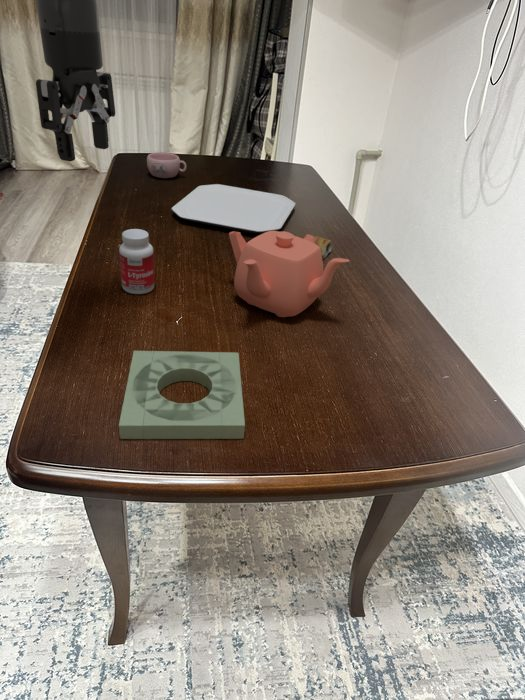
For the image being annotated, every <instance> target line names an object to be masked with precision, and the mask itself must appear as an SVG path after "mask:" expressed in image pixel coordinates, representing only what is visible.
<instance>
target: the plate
mask: <svg viewBox="0 0 525 700" xmlns="http://www.w3.org/2000/svg"><path fill="white" fill-rule="evenodd" d="M295 207H296V202H295V201H294V200H291V198H288V197H287V196H285V195H283V194H279V193H272V192H266V191H261V190H253V189H249V188H244V187H238V186H231V185H226V184H220V183H214V184H204V185H203V184H202V185H198V186H197V187H196V188H194V189H193V190H192V191H191V192H190V193H187V195H186V196H185V197H183V198H182V199H181V200H179V201H178V202H177V203H176V204H174V205H173V206H172V207H171V211H172V213H174V214H175V215H176V216H177V217H179V219H182V220H185V221H189V222H192V223H196V224H201V225H207V226H212V227H217V228H221V229H228V230H233V231H237V232H245V233H250V234H263V233H265V232H268V231H280V230H281V229H282V228H283V226H284V225H285V223H286V221H287V220H288V218H289V216H290V215H291V213H292V212H293V210H294V208H295Z"/></svg>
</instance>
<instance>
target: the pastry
mask: <svg viewBox="0 0 525 700" xmlns="http://www.w3.org/2000/svg"><path fill="white" fill-rule="evenodd" d="M305 236H306V235H304V236H299V237H300V238H302V239H304V238H305ZM314 237H315V238H317V240H318V242H317V244H316V245H318V246H319V247H320V250H321V255H322V260H324V259H325V258H326V257H327V256H328V255H329V253H331V252H332V249H333V247H332V246H333V245H332V244H333V243H332V240H331V239H329V238H328V239H326V238H324V237H321V236H319V235H314Z"/></svg>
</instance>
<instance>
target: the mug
mask: <svg viewBox="0 0 525 700" xmlns="http://www.w3.org/2000/svg"><path fill="white" fill-rule="evenodd" d="M181 164H183V169H182V168H181ZM146 166H147V169H148V171H149V173H150V175H151V176H153V177H155V178H159V179H172V178H175V177H177V175H178V174H179V172H181V173H184V172H186V171H187V163H186V162H185V161H184V160H181V159H180V157H179V155H177V154H175V153H171V152H162V151H158V152H157V151H156V152H152V153H149V154H148V155H147V156H146Z"/></svg>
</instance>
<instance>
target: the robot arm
mask: <svg viewBox="0 0 525 700" xmlns="http://www.w3.org/2000/svg"><path fill="white" fill-rule="evenodd" d="M35 3H36V5H35V6H36V11H37V19H38V25H39V32H40V38H41V44H42V53H43V58H44V63H45V65H47V66H48V67H50V68H51V71H52V80H48V79H40V78H38V79H37V80H36V81H35V87H36V88H35V89H36V95H37V96H36V97H37V105H38V113H39V120H40V126H41V128H42V129H44V130H49V131H52V132H53V134H54V137H55V144H56V151H57V155H58V158H59V159H60V160H61V161H65V162H74V161H75V160H76V153H75V145H74V138H73V133H71V132H72V129H73V125H74V122H75V120H77V119H78V118H79V115H80V113H83V112H84V111H86V112H87V114H88V115H89V117H90V118H91V120H92V122H91V127H92V128H91V129H92V138H93V146H94V147H95V148H96V149H99V150H107V149H109V148H110V145H109V140H110V139H109V129H108V123H110V119H111V118H115V116H116V105H115V97H114V87H113V79H112V75H111V73H108V72H100V71H98V70H101V69H102V68H103V67H104V66H103V65H104V62H103V52H102V41H101V31H100V19H99V10H98V4H97V0H35ZM104 100H106V102H107V105H106V103H105V101H104ZM49 113H51V119H50V114H49ZM63 118H64V120H63V122H62V119H63Z"/></svg>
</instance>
